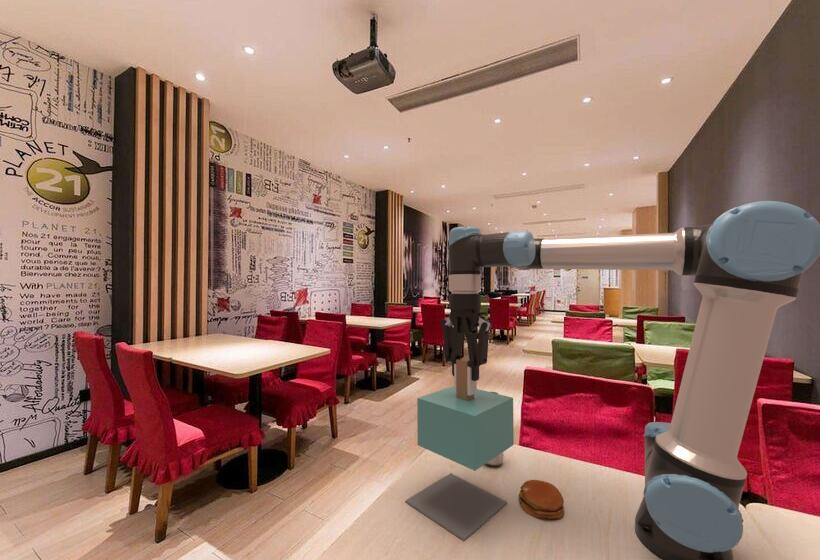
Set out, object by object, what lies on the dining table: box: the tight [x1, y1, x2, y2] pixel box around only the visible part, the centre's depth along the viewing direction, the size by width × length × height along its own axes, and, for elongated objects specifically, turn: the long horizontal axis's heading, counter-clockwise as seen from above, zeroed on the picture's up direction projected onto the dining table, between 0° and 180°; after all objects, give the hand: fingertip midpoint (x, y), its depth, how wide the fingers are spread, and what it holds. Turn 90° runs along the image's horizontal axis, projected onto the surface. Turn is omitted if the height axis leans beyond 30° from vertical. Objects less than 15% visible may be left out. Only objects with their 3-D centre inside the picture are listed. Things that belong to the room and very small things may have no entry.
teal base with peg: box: [416, 357, 515, 472], centre depth 80 cm, size 16×16×20 cm
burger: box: [518, 479, 565, 520], centre depth 79 cm, size 10×9×5 cm
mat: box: [404, 472, 508, 542], centre depth 80 cm, size 17×17×1 cm
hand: (465, 392), depth 80 cm, fingers closed on teal base with peg, 3 cm apart
